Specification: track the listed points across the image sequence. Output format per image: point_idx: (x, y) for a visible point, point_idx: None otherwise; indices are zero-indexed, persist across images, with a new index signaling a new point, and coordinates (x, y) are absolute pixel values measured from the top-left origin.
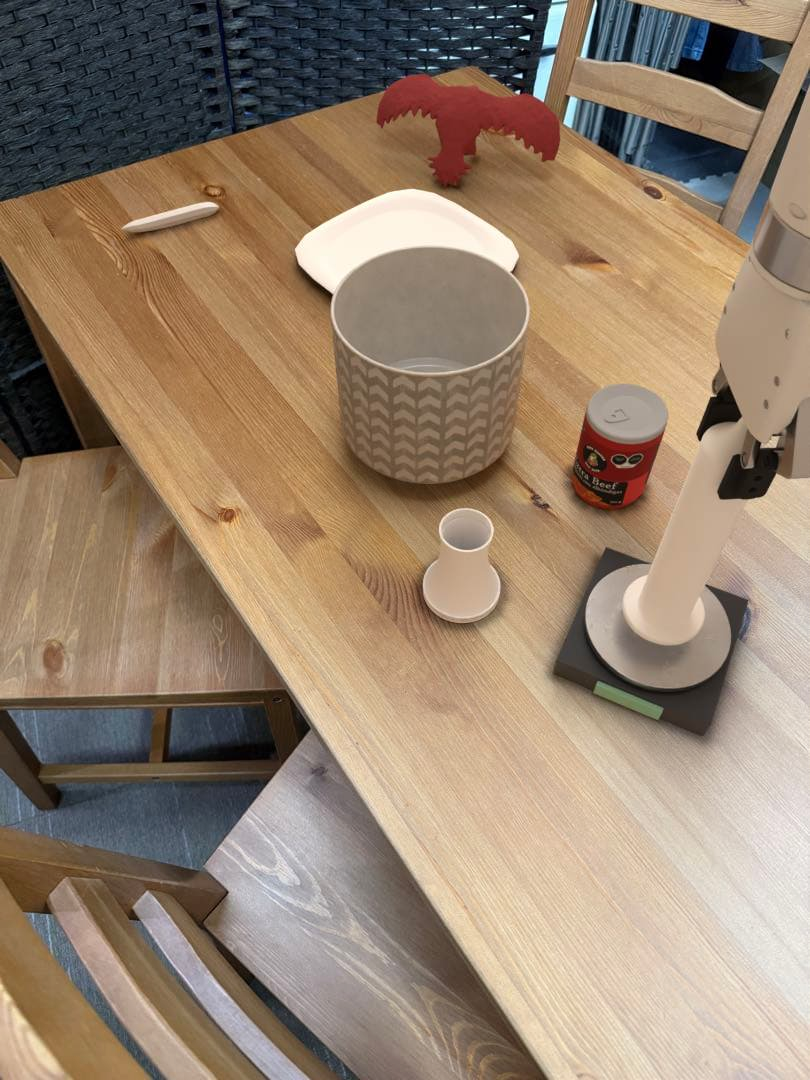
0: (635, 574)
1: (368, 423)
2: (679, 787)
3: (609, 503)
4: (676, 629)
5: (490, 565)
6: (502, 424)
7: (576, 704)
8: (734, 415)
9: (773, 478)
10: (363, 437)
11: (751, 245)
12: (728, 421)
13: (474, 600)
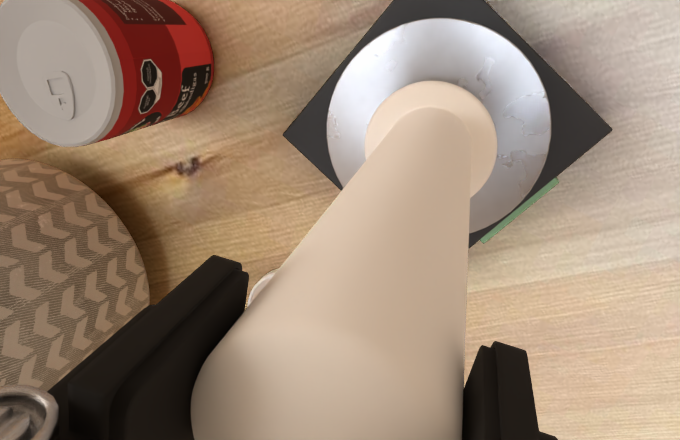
0: (343, 128)
1: None
2: (655, 189)
3: (207, 83)
4: (475, 152)
5: (273, 274)
6: (68, 242)
7: (487, 255)
8: (170, 415)
9: (536, 422)
10: None
11: None
12: (188, 398)
13: None
